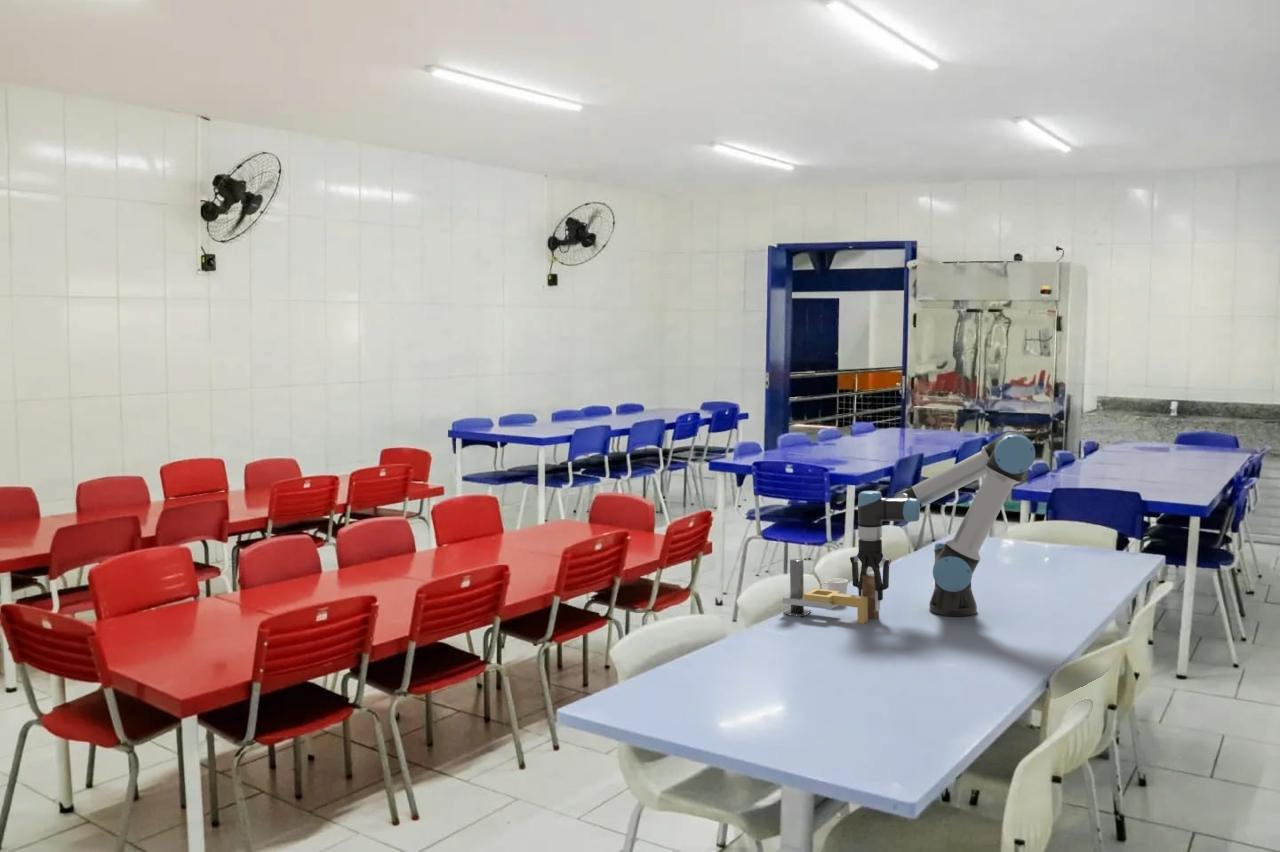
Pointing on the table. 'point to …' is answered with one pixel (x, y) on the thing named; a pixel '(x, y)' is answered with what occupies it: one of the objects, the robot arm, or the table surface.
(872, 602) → the pin
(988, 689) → the table surface
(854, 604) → the bracket
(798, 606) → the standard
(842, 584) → the cup
